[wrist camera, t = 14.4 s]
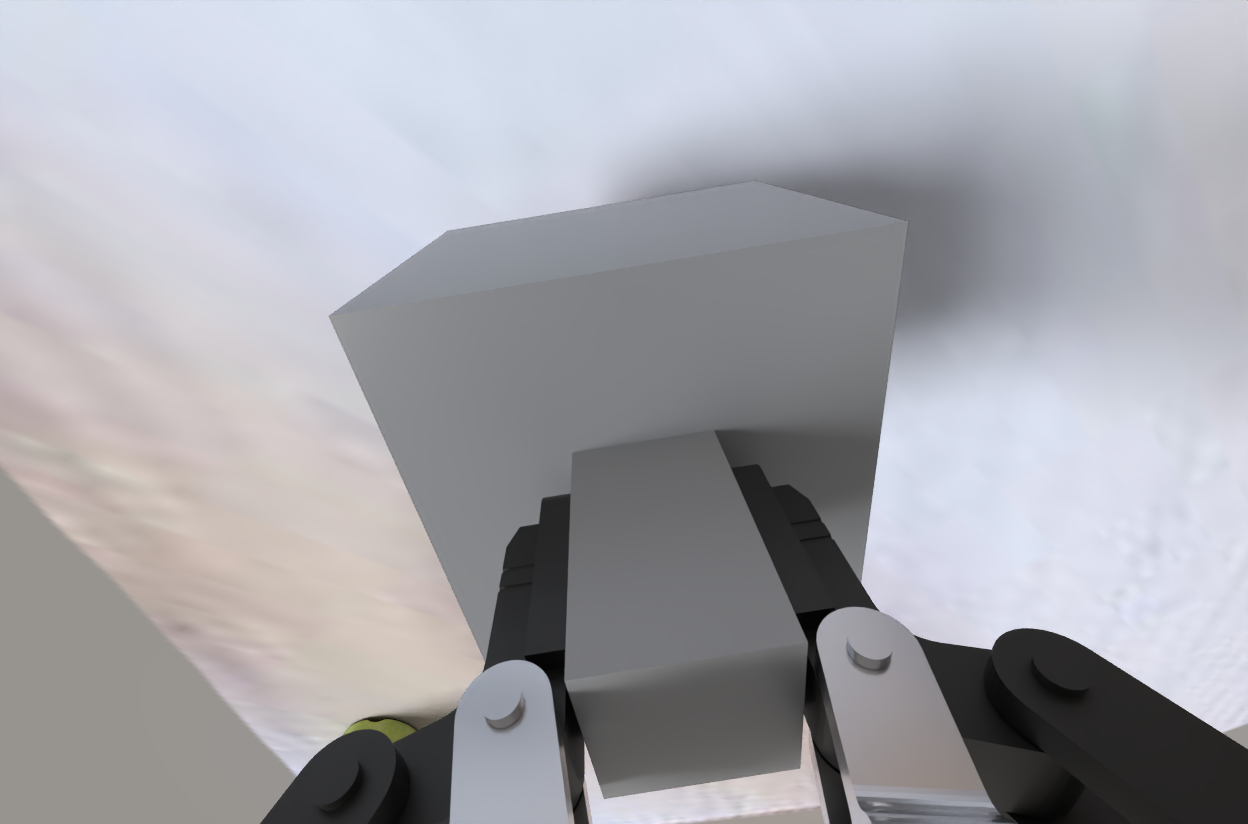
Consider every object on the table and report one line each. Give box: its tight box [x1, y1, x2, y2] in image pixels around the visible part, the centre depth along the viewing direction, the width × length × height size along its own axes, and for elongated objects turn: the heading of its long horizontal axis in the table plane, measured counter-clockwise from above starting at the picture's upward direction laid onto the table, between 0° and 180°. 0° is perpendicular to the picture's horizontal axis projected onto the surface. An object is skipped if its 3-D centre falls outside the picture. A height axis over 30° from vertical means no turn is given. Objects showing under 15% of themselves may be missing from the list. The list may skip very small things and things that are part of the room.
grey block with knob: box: [329, 181, 908, 799], centre depth 13 cm, size 10×10×14 cm
